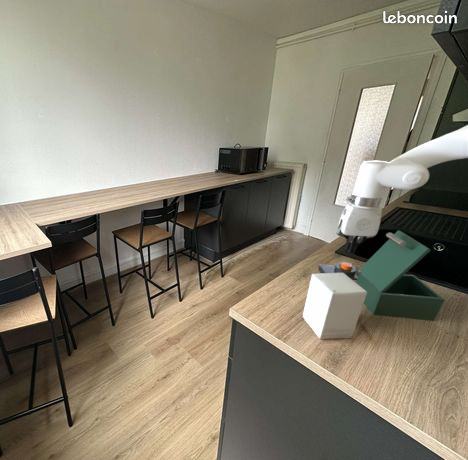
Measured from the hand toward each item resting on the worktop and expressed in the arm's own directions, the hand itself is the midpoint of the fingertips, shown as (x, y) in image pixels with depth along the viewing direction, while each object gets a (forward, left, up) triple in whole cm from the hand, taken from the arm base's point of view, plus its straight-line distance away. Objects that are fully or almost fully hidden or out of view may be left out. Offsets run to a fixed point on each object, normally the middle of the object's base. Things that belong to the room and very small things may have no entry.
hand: (349, 251), depth 87 cm
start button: (0, 0, -7) cm, 7 cm away
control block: (+2, 0, -11) cm, 11 cm away
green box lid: (-3, +16, +6) cm, 17 cm away
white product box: (+15, +27, -11) cm, 33 cm away
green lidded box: (-6, +16, -11) cm, 20 cm away
